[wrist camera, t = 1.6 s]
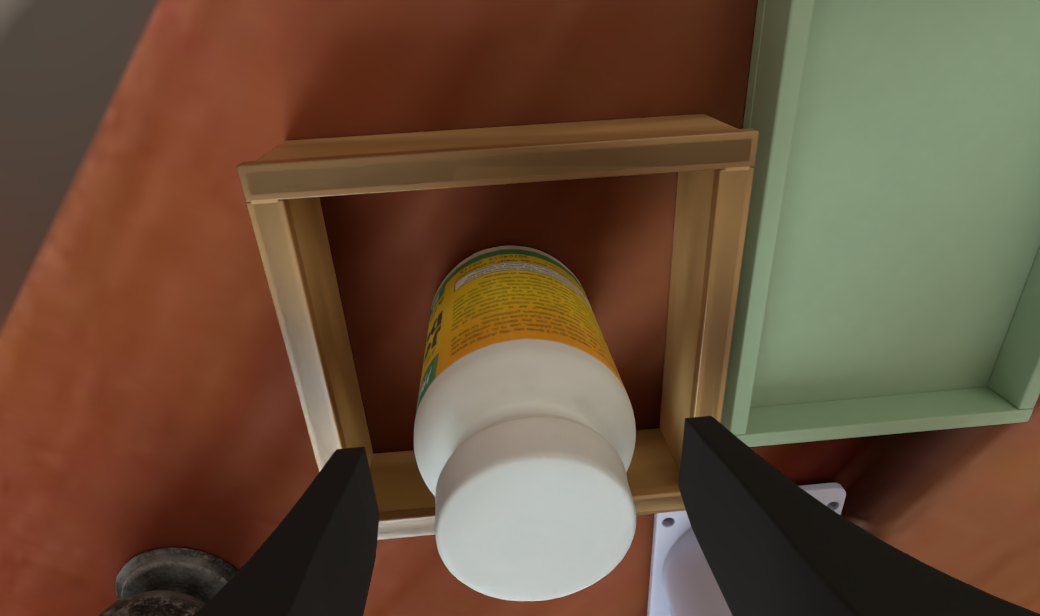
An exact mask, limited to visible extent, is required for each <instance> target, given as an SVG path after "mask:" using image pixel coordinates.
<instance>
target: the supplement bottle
mask: <svg viewBox="0 0 1040 616" xmlns="http://www.w3.org/2000/svg"><path fill="white" fill-rule="evenodd" d="M635 441H636V425H635V418H634V413H633V409H632V406H631V403H630V400H629V397H628V395H627V392H626V390H625V387H624V385H623V383H622V380H621V378H620V375H619V373H618V371H617V368H616V366H615V364H614V361H613V359H612V356H611V354H610V352H609V349H608V347H607V345H606V342H605V340H604V337H603V335H602V332H601V330H600V327H599V325H598V323H597V320H596V318H595V315H594V313H593V310H592V308H591V305H590V303H589V300H588V298H587V296H586V293H585V291H584V289H583V287H582V285H581V284H580V282H579V280H578V279H577V278H576V276H575V275H574V274H573V273H572V272H571V271H570V270H569V269H568V268H567V267H566V266H565V265H564V264H562V263H561V262H560V261H558V260H557V259H555V258H554V257H552V256H551V255H549V254H547V253H545V252H542V251H540V250H537V249H534V248H530V247H525V246H515V245H507V246H498V247H493V248H488V249H484V250H481V251H479V252H476V253H474V254H473V255H471V256H469V257H468V258H466V259H465V260H463V261H462V262H460V263H459V264H458V265H457V266H456V267H455V268H454V269H453V270H452V271H451V272H450V273H449V274H448V275H447V276H446V277H445V279H444V280H443V282H442V283H441V284H440V286H439V288H438V290H437V292H436V294H435V296H434V299H433V302H432V306H431V312H430V319H429V326H428V334H427V341H426V348H425V355H424V362H423V370H422V376H421V382H420V389H419V396H418V403H417V409H416V416H415V423H414V452H415V458H416V461H417V465H418V468H419V471H420V473H421V476H422V478H423V480H424V482H425V484H426V485H427V487H428V488H429V490H430V491H431V492H432V494H433V495H434V496H435V503H436V509H435V535H436V543H437V548H438V551H439V554H440V556H441V558H442V560H443V562H444V564H445V565H446V567H447V568H448V570H449V571H450V572H451V573H452V574H453V575H454V576H455V577H456V578H457V579H458V580H460V581H461V582H462V583H464V584H466V585H467V586H469V587H470V588H472V589H474V590H475V591H477V592H480V593H483V594H485V595H488V596H491V597H496V598H500V599H503V600H513V601H541V600H549V599H554V598H559V597H563V596H566V595H569V594H572V593H575V592H577V591H580V590H582V589H584V588H586V587H588V586H590V585H592V584H594V583H595V582H597V581H599V580H600V579H602V578H603V577H604V576H606V575H607V574H609V573H610V572H611V571H612V570H613V569H614V568H615V567H616V566H617V565H618V564H619V563H620V562H621V560H622V559H623V557H624V556H625V554H626V553H627V551H628V549H629V547H630V545H631V542H632V540H633V537H634V534H635V529H636V509H635V504H634V500H633V497H632V494H631V490H630V487H629V484H628V481H627V474H626V472H627V470H628V468H629V466H630V463H631V460H632V456H633V453H634V449H635Z"/></svg>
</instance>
